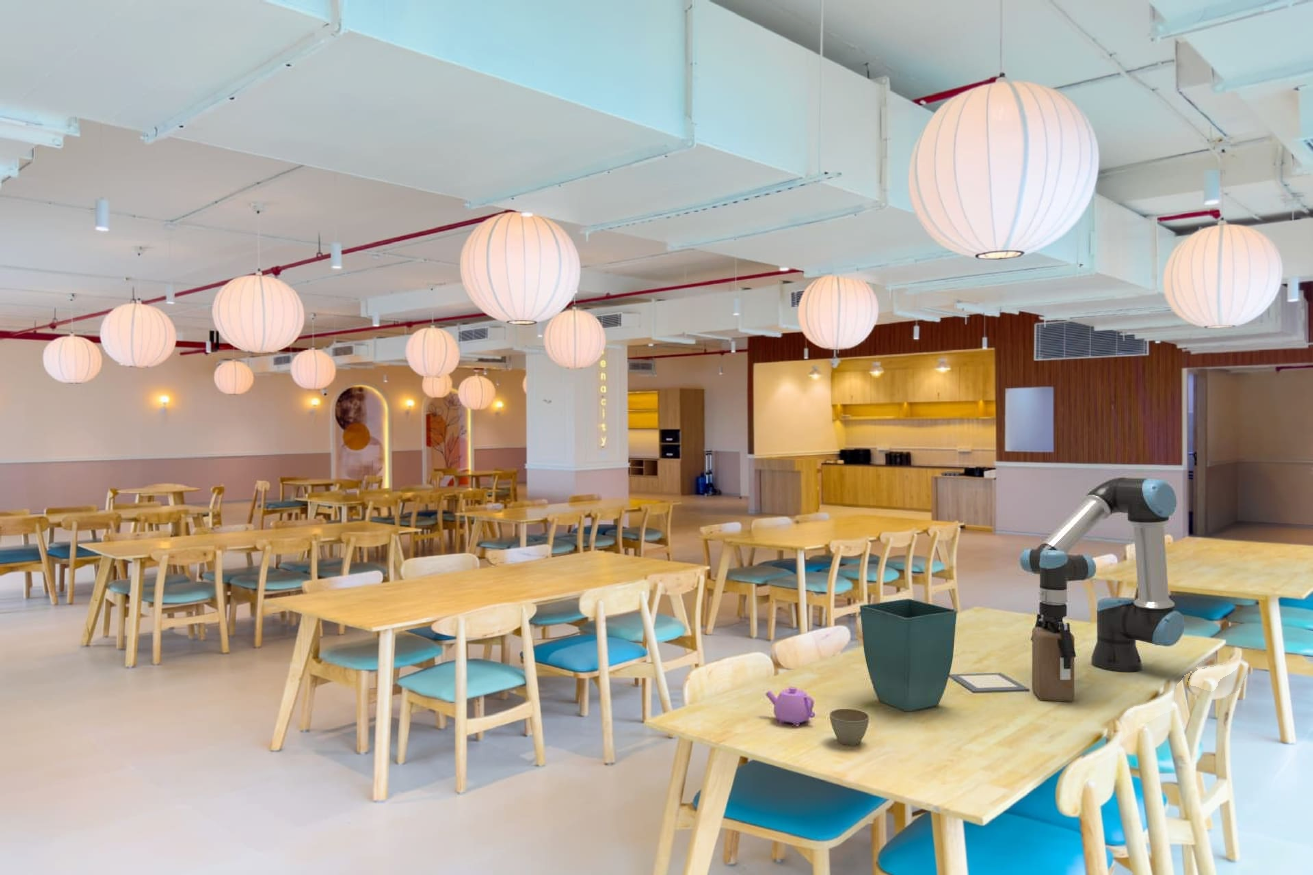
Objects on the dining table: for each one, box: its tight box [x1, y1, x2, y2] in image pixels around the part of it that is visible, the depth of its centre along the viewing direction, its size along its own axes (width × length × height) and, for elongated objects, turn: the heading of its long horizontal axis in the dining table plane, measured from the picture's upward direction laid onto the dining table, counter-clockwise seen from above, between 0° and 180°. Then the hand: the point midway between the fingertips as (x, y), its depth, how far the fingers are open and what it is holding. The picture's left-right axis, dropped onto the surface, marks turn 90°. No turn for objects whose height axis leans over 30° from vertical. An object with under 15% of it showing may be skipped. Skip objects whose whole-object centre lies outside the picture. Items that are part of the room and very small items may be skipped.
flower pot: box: [859, 598, 958, 712], centre depth 255 cm, size 20×20×28 cm
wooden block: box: [1031, 626, 1075, 703], centre depth 261 cm, size 10×10×20 cm
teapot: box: [765, 686, 816, 726], centre depth 240 cm, size 10×15×9 cm
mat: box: [949, 672, 1031, 694], centre depth 275 cm, size 18×18×1 cm
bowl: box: [829, 708, 870, 746], centre depth 224 cm, size 10×10×7 cm
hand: (1052, 672), depth 261 cm, fingers open, 13 cm apart
